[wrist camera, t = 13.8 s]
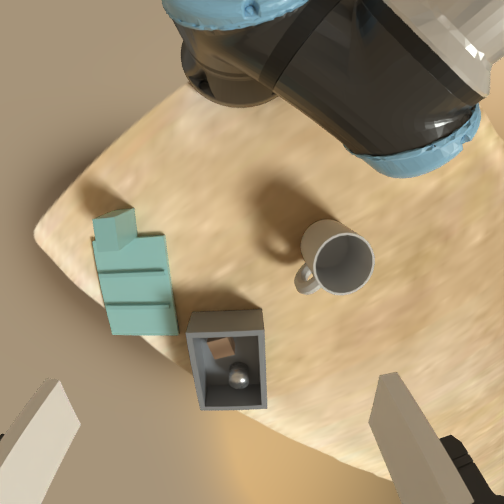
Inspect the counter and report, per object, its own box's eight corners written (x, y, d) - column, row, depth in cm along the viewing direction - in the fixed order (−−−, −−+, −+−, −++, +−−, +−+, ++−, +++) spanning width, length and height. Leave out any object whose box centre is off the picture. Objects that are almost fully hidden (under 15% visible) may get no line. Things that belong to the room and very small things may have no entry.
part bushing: (234, 359, 46) (234, 371, 43) (252, 366, 46) (252, 378, 43) (225, 372, 46) (225, 384, 44) (242, 379, 47) (243, 391, 44)
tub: (192, 311, 44) (185, 332, 39) (262, 308, 44) (264, 329, 39) (204, 386, 48) (200, 410, 42) (265, 384, 48) (267, 408, 42)
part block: (208, 331, 44) (206, 342, 41) (228, 326, 44) (227, 337, 41) (216, 348, 45) (214, 359, 42) (235, 343, 45) (234, 354, 42)
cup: (360, 244, 42) (386, 264, 34) (308, 293, 44) (322, 323, 35) (327, 207, 41) (348, 218, 32) (273, 258, 42) (280, 282, 34)
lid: (90, 212, 40) (66, 222, 33) (162, 205, 40) (146, 214, 33) (114, 332, 45) (97, 355, 39) (179, 332, 45) (170, 358, 39)
